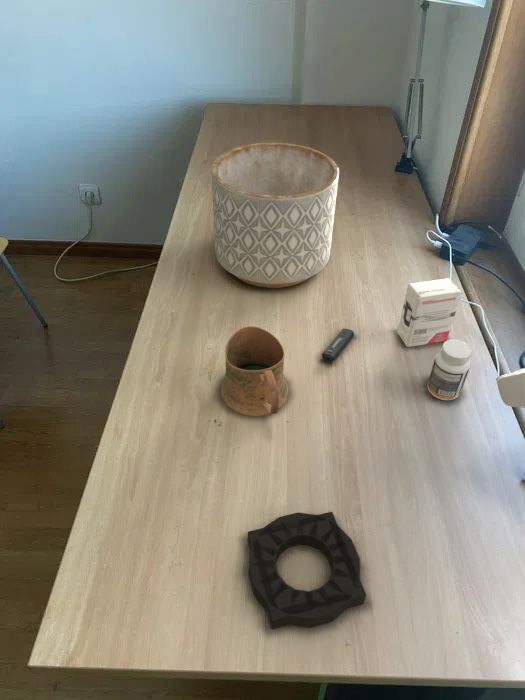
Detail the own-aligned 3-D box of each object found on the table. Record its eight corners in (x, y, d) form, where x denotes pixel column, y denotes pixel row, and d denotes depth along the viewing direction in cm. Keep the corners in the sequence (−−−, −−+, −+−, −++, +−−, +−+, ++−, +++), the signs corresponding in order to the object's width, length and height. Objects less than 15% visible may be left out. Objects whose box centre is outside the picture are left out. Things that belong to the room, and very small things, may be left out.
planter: (285, 310, 114) (290, 211, 99) (192, 267, 125) (184, 171, 110) (349, 256, 129) (362, 163, 114) (261, 221, 141) (262, 133, 126)
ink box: (435, 325, 111) (450, 276, 104) (447, 341, 108) (463, 291, 100) (396, 331, 110) (407, 282, 102) (406, 348, 106) (419, 298, 98)
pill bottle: (440, 373, 101) (453, 332, 95) (466, 392, 98) (482, 349, 91) (419, 388, 99) (432, 346, 92) (446, 407, 95) (461, 365, 89)
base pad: (374, 609, 70) (377, 600, 68) (265, 640, 67) (266, 631, 66) (334, 512, 80) (336, 503, 78) (238, 535, 77) (238, 526, 76)
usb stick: (342, 331, 110) (343, 325, 109) (354, 336, 109) (355, 330, 108) (319, 359, 104) (320, 353, 103) (332, 364, 103) (333, 358, 102)
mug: (238, 450, 88) (237, 398, 80) (215, 373, 100) (211, 322, 92) (308, 436, 90) (313, 383, 82) (277, 362, 103) (279, 311, 95)
